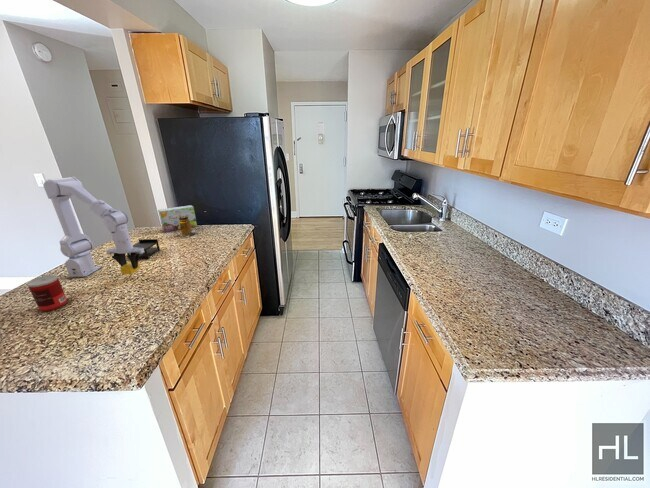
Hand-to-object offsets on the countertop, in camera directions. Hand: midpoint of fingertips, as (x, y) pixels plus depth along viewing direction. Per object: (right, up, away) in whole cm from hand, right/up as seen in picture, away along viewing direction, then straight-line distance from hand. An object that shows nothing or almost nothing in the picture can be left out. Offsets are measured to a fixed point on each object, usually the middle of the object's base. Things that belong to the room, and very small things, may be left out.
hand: (130, 268), depth 116 cm
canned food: (-15, -13, -18) cm, 27 cm away
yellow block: (0, -2, +1) cm, 2 cm away
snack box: (-16, +22, +68) cm, 73 cm away
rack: (-11, +5, +25) cm, 28 cm away
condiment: (-4, +17, +57) cm, 59 cm away
